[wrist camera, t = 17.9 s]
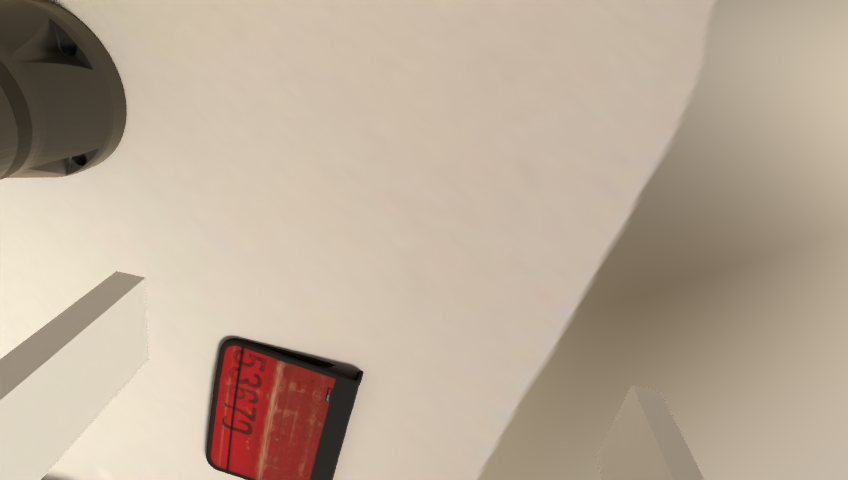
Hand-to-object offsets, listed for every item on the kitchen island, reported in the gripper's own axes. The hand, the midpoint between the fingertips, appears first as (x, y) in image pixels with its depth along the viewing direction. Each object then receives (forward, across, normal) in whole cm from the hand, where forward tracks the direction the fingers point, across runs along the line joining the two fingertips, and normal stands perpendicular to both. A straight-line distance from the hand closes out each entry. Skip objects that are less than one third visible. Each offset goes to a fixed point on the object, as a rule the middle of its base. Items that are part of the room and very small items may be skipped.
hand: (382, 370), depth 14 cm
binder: (+34, -11, -39) cm, 52 cm away
